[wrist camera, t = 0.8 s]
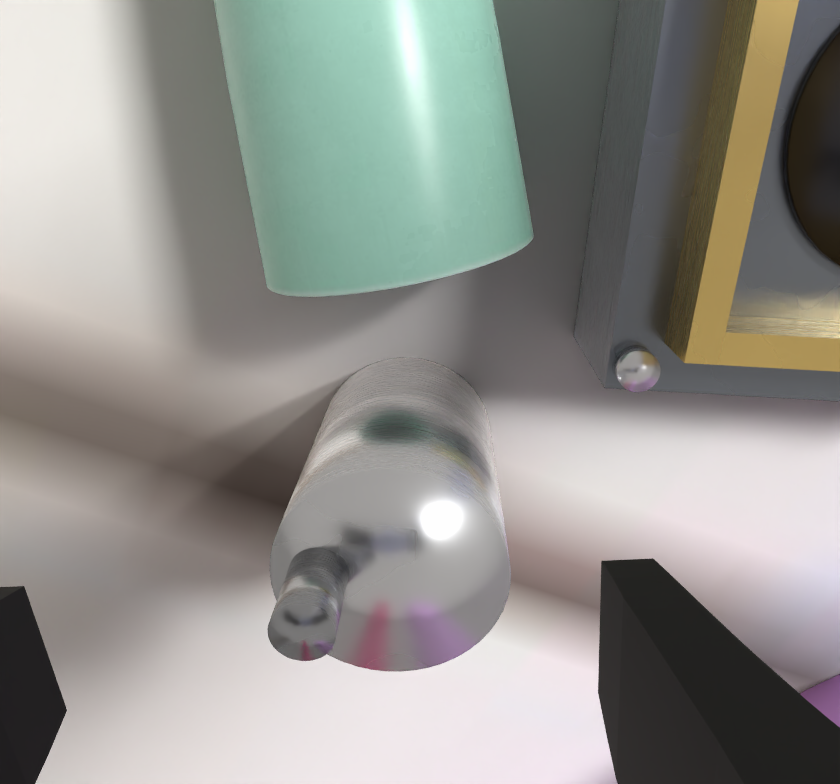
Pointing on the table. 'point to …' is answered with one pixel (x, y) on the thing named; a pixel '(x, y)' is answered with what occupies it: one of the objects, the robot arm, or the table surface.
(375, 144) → the mint green cylinder
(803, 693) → the container set
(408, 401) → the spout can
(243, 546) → the table surface
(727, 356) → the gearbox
